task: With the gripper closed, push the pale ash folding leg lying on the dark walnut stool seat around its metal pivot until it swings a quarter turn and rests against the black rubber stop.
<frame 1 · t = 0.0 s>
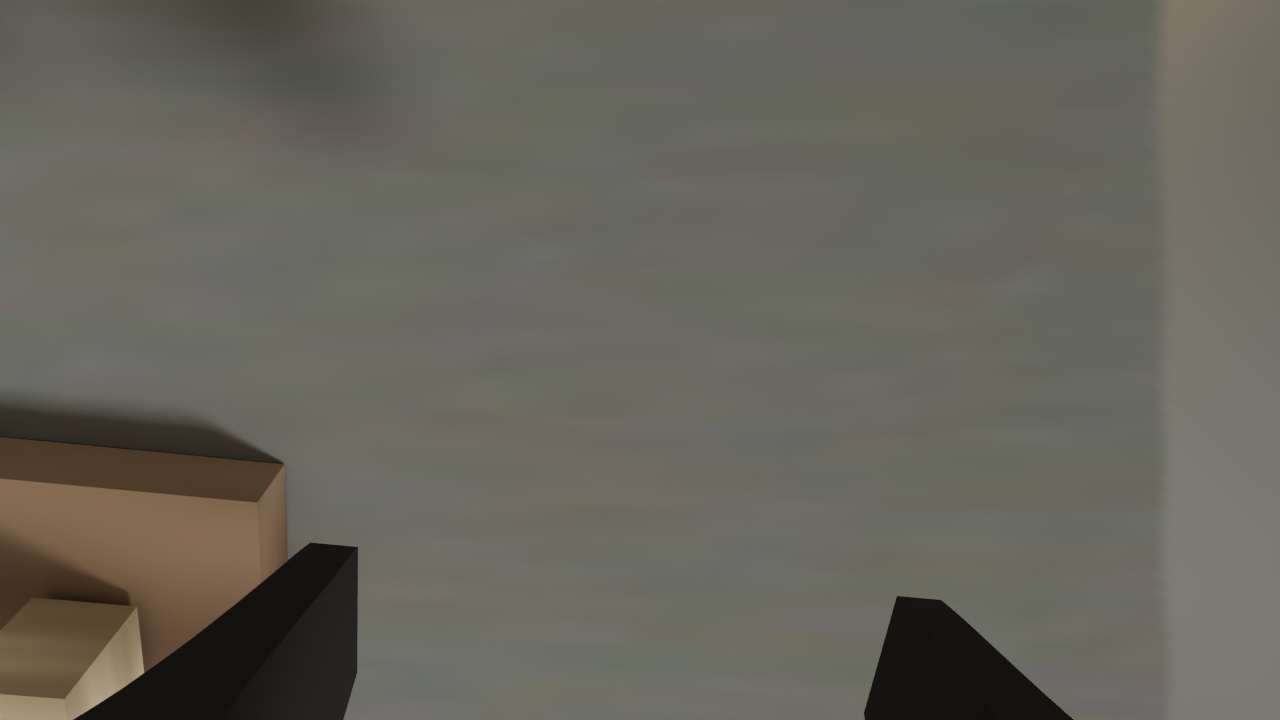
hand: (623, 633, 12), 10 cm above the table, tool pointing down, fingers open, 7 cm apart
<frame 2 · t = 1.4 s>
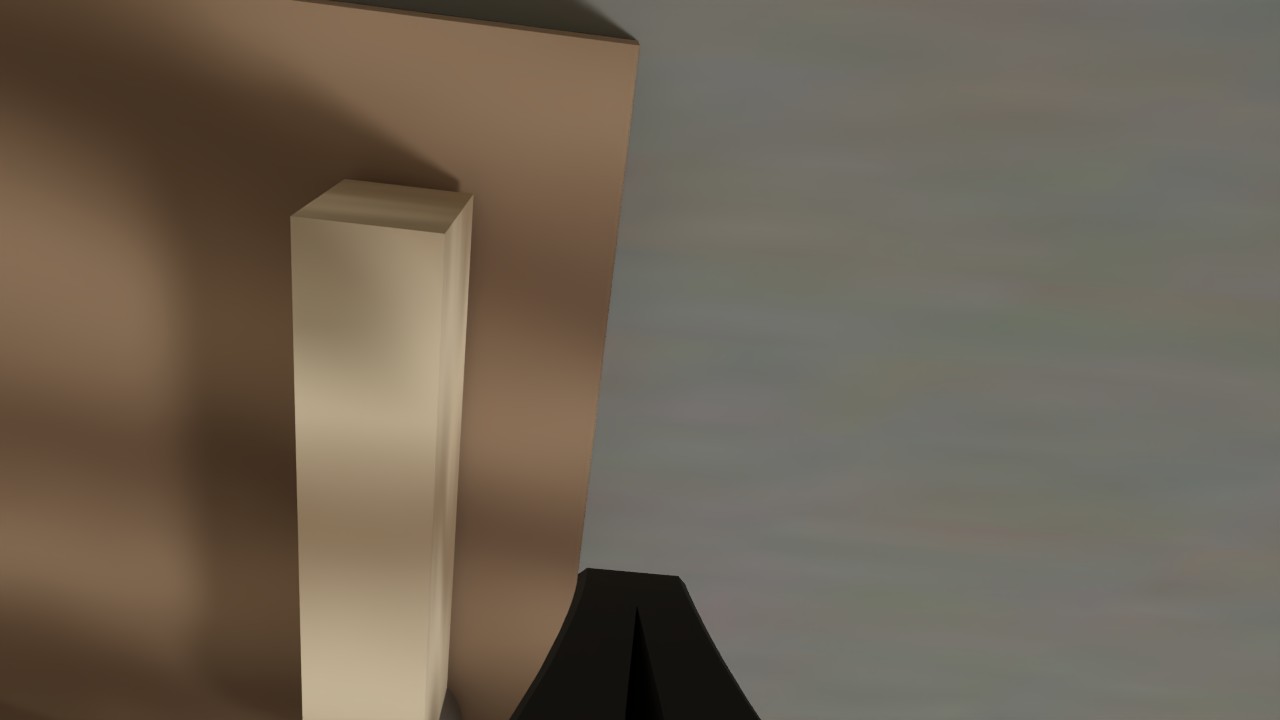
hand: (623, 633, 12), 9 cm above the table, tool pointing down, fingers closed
stool seat: (163, 433, 21), on the table
folding leg: (384, 557, 18), point 4 cm above the table, hinge at 0.0°
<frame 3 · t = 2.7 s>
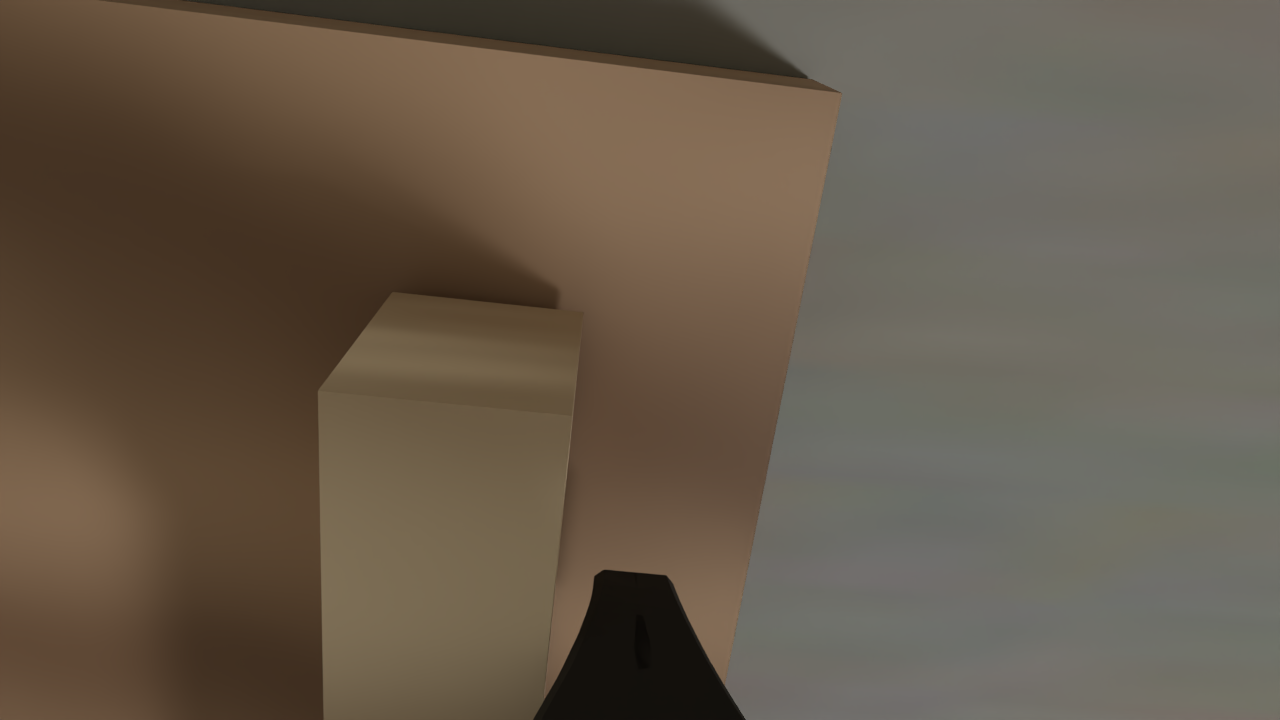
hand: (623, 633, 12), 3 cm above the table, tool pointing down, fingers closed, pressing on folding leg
stool seat: (134, 608, 15), on the table
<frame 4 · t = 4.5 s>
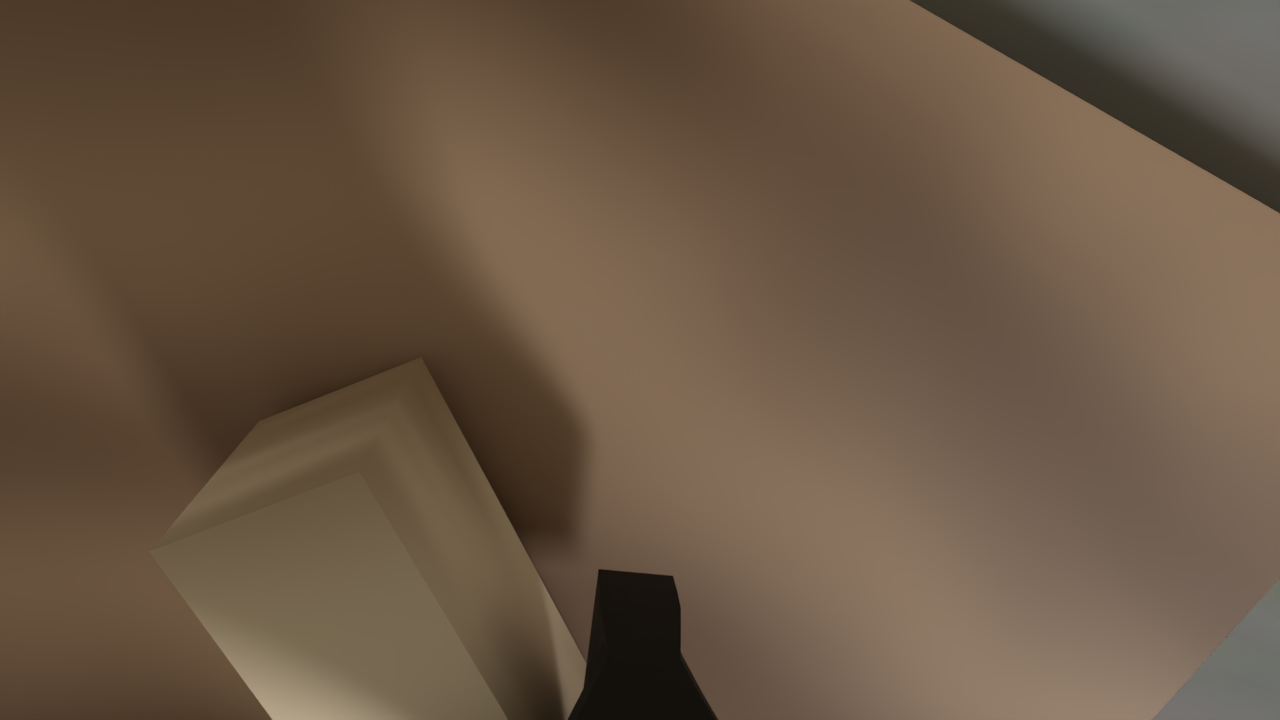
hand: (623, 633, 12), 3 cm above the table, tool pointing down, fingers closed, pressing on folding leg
stool seat: (533, 553, 15), on the table
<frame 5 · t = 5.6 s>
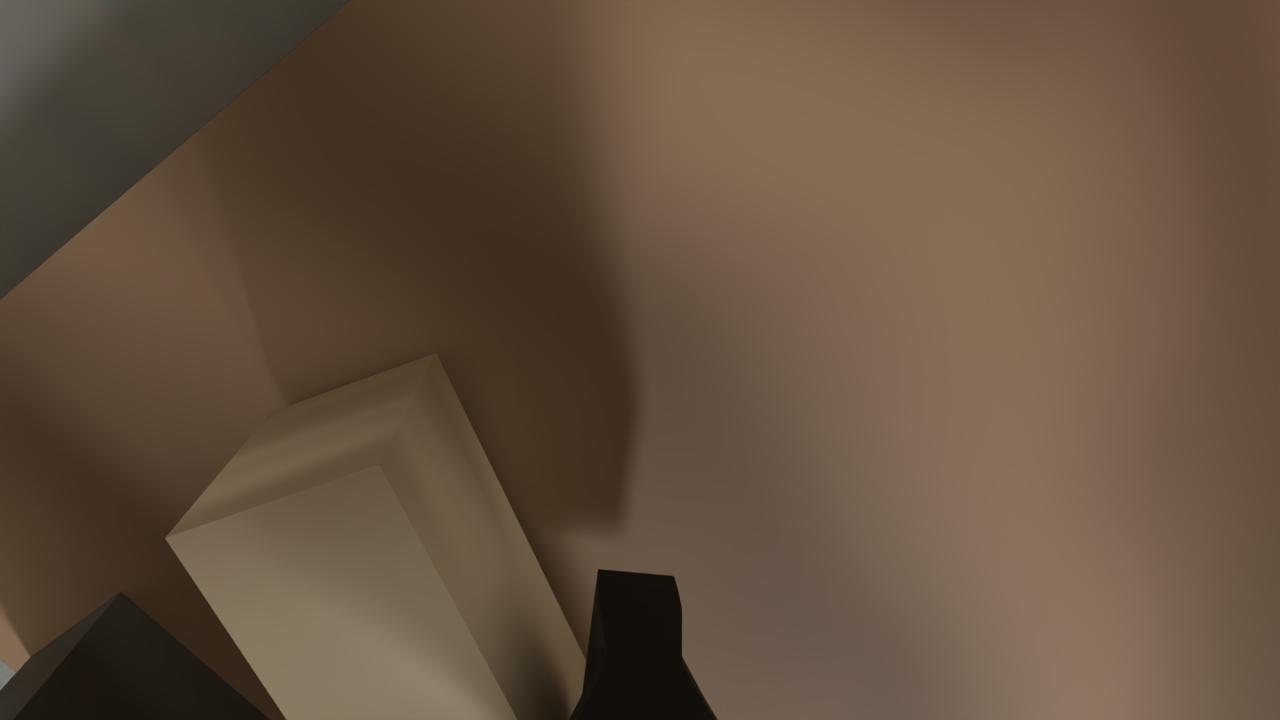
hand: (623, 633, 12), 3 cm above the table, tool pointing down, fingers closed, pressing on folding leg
stool seat: (753, 536, 15), on the table
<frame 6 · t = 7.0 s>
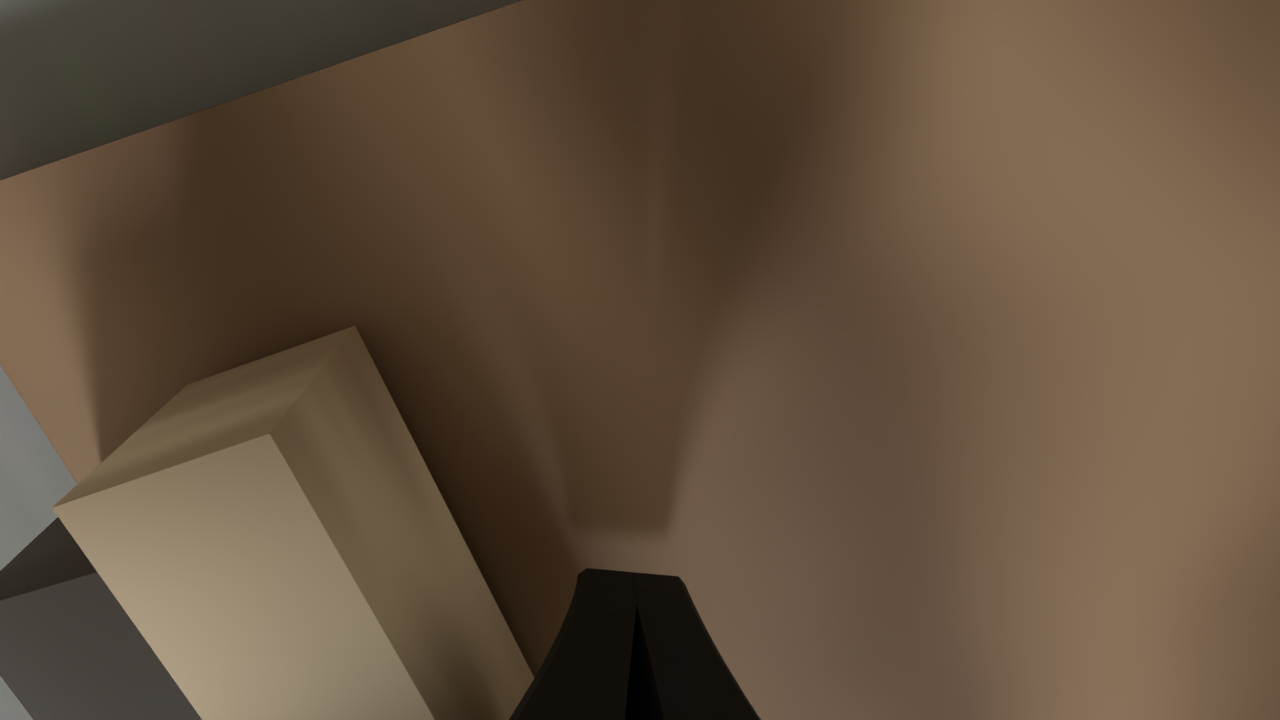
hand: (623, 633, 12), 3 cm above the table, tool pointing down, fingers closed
stool seat: (840, 560, 15), on the table
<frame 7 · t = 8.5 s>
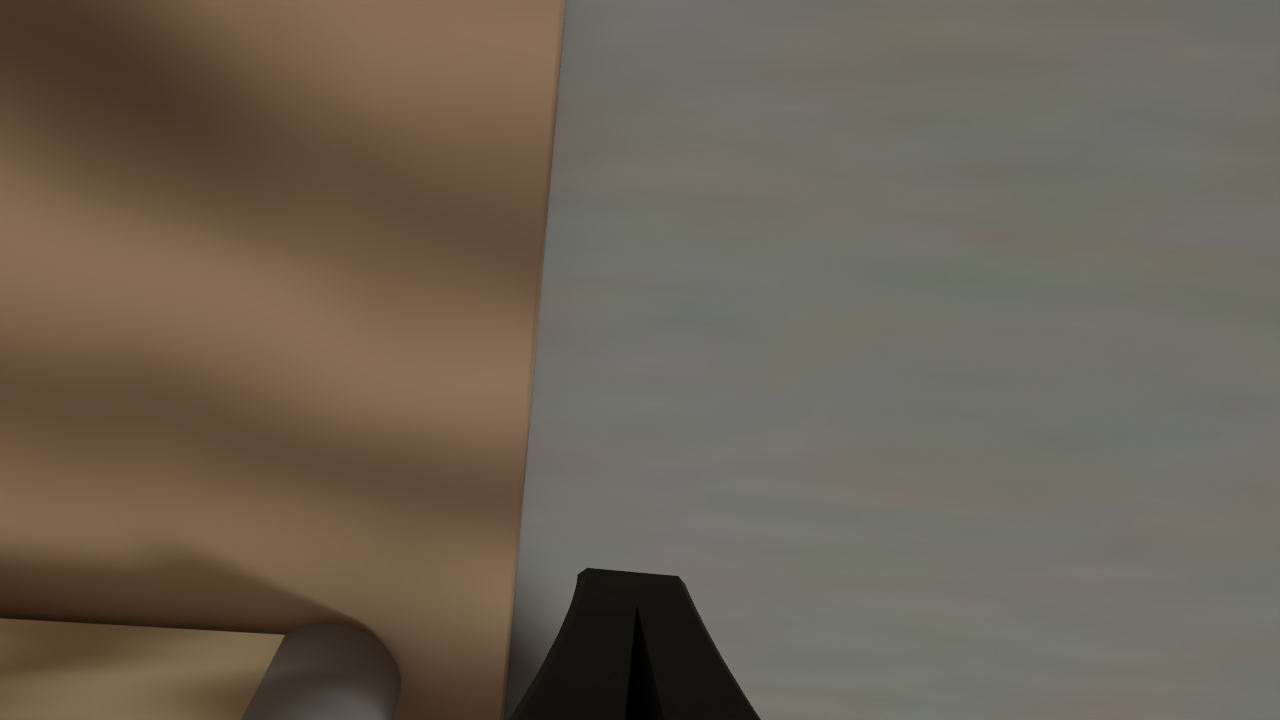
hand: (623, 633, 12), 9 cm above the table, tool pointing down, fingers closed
stool seat: (93, 387, 21), on the table
folding leg: (48, 712, 20), point 4 cm above the table, hinge at 91.9°
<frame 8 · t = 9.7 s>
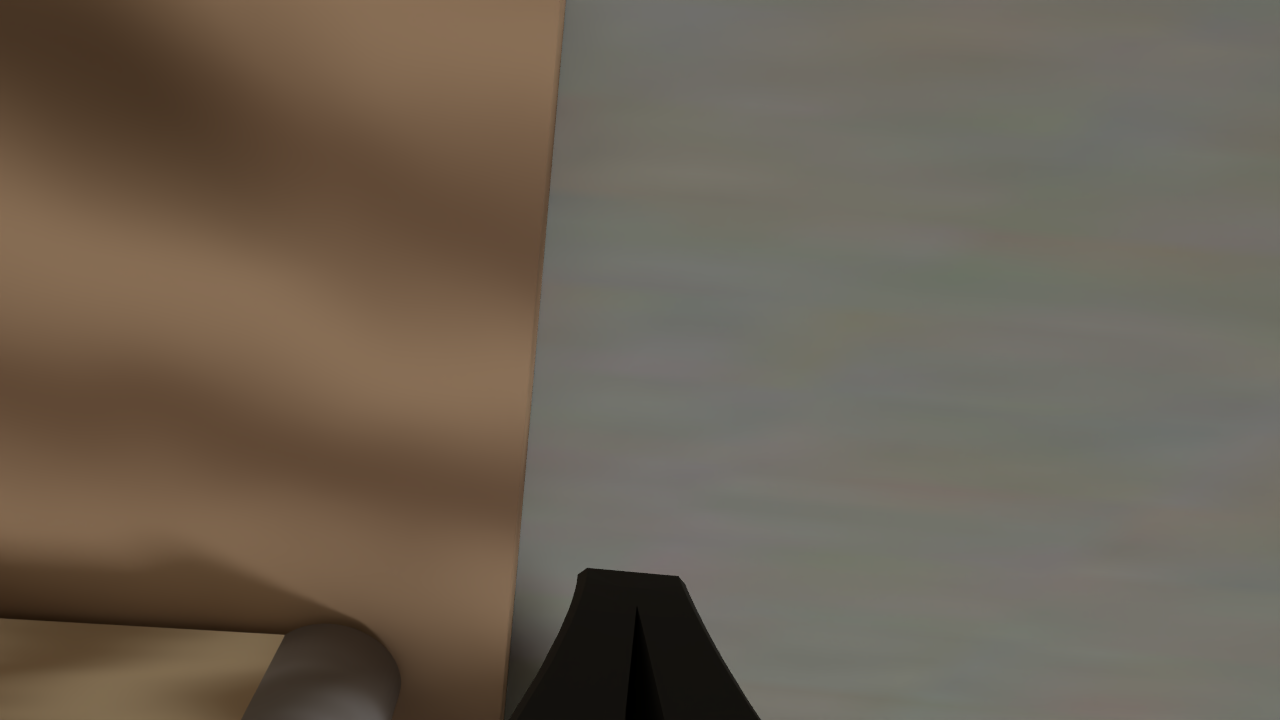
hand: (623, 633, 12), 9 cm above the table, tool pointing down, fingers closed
stool seat: (93, 387, 21), on the table
folding leg: (48, 712, 20), point 4 cm above the table, hinge at 91.9°
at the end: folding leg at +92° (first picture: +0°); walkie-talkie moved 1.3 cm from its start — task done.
